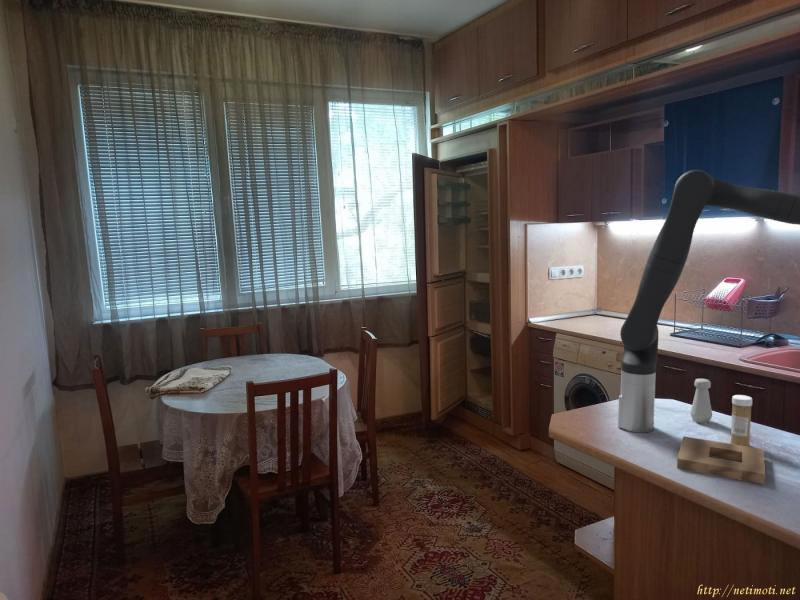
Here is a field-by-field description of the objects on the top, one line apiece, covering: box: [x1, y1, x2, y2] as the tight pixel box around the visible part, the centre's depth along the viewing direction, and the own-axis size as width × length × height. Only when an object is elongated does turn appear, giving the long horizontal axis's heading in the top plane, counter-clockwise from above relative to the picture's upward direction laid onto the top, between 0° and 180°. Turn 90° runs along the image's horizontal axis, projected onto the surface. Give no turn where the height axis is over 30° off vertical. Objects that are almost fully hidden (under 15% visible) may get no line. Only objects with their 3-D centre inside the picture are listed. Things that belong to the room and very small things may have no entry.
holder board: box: [676, 436, 766, 485], centre depth 136 cm, size 18×16×2 cm
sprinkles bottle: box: [729, 394, 753, 447], centre depth 146 cm, size 5×5×13 cm
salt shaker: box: [690, 378, 713, 425], centre depth 164 cm, size 6×6×13 cm
